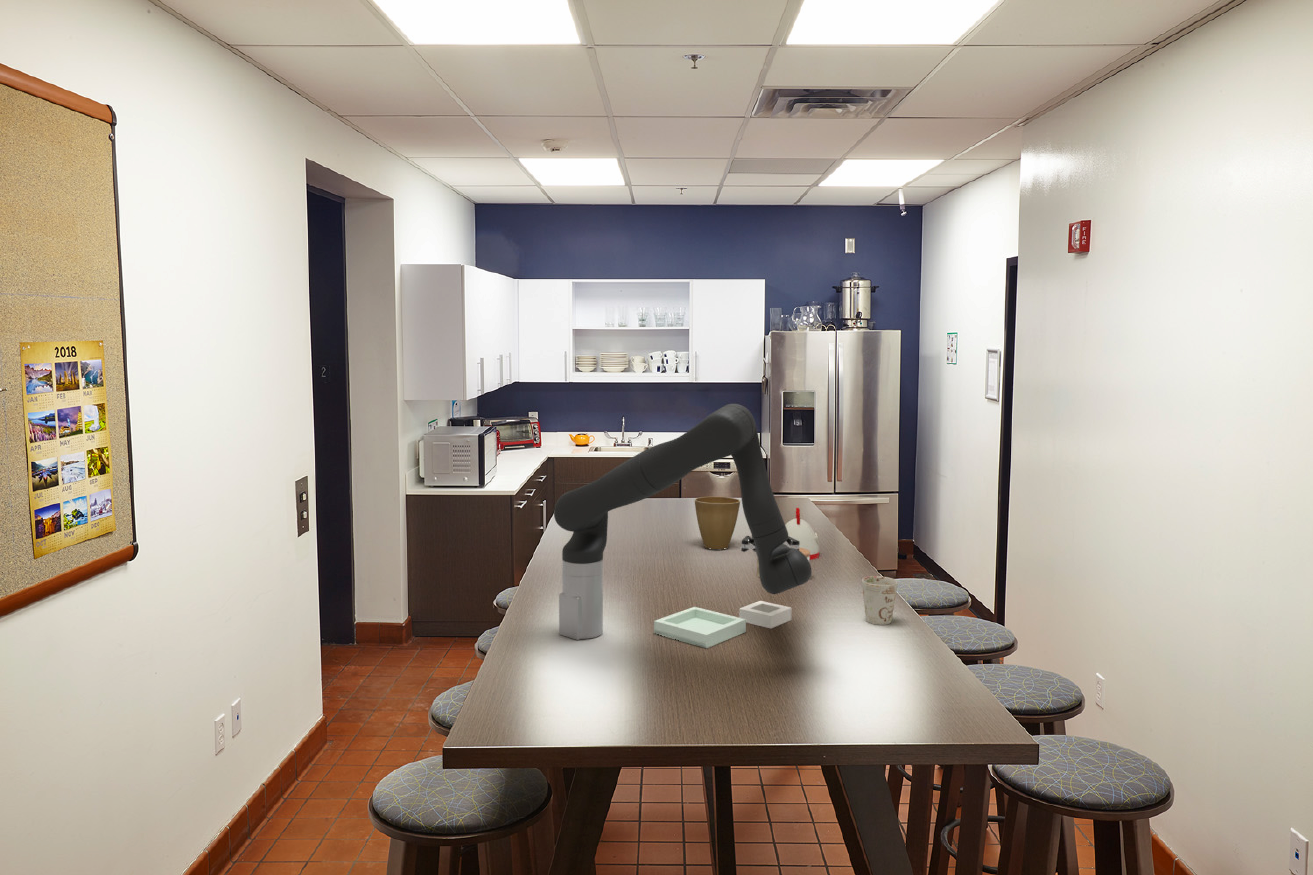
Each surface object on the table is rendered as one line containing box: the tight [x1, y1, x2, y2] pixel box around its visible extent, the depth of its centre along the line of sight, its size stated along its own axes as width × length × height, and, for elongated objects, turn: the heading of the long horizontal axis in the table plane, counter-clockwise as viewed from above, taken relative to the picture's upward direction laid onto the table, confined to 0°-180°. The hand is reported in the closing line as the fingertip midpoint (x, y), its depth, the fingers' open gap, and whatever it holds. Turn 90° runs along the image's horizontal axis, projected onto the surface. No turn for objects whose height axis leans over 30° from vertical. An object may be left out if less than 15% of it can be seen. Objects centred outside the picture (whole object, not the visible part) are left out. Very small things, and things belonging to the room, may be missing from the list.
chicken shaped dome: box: [785, 507, 820, 561], centre depth 280 cm, size 14×14×15 cm
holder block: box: [738, 600, 793, 629], centre depth 213 cm, size 9×9×3 cm
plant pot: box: [694, 496, 741, 550], centre depth 289 cm, size 15×15×16 cm
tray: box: [653, 606, 747, 649], centre depth 203 cm, size 15×15×3 cm
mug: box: [861, 575, 899, 626], centre depth 215 cm, size 8×13×10 cm, turn 15°
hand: (765, 537), depth 214 cm, fingers closed on dowel, 4 cm apart
